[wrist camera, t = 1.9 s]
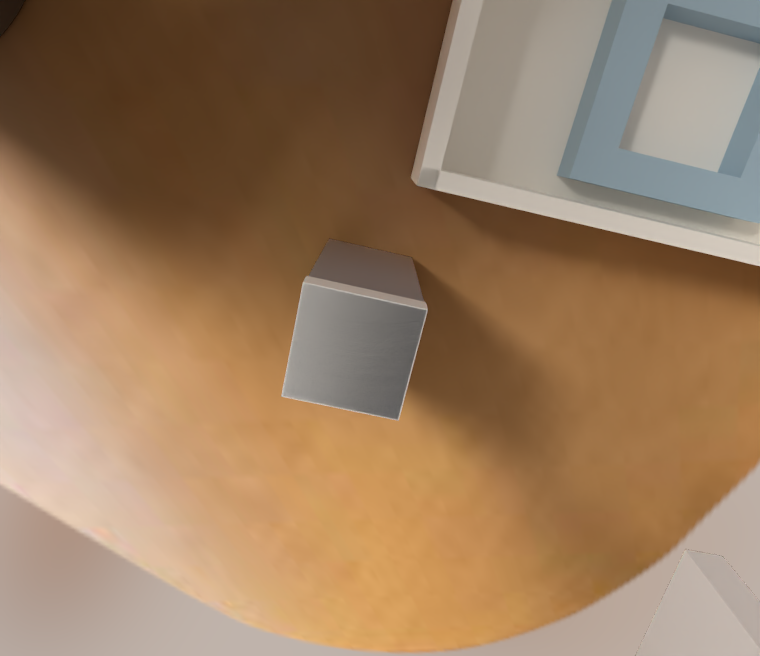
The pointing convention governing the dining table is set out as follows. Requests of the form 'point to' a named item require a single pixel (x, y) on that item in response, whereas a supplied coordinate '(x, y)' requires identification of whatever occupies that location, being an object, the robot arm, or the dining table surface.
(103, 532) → the dining table surface
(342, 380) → the grey plug
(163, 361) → the dining table surface
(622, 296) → the dining table surface
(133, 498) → the dining table surface
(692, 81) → the tray box
